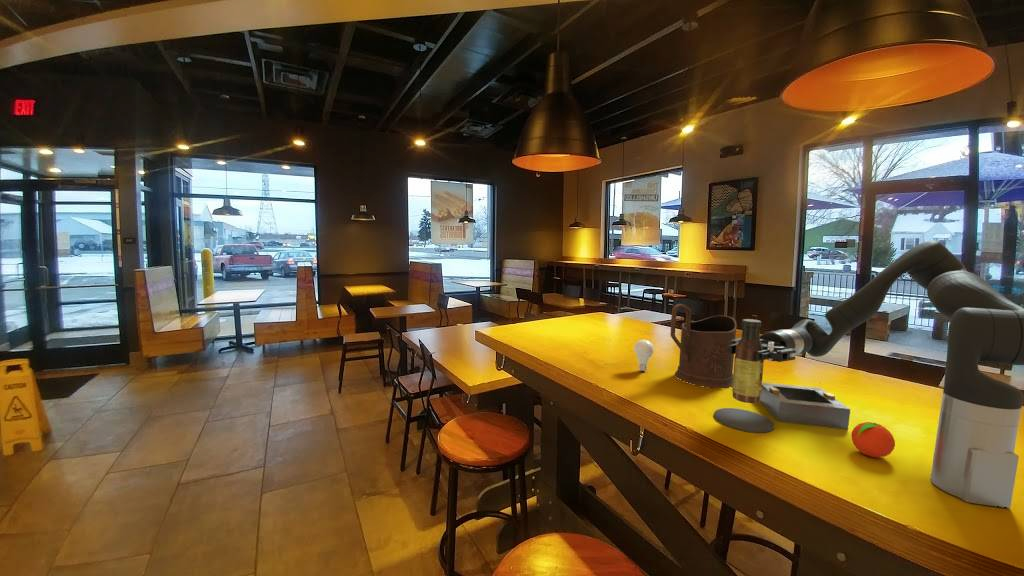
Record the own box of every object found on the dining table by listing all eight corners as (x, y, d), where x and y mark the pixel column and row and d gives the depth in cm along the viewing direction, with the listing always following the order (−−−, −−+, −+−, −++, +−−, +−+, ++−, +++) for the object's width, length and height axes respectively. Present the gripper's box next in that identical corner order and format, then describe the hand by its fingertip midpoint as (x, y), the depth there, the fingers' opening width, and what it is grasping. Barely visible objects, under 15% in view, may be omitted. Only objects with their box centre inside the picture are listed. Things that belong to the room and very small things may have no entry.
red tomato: (873, 466, 82) (877, 432, 82) (837, 449, 89) (841, 418, 88) (901, 461, 85) (905, 428, 84) (864, 445, 91) (868, 414, 90)
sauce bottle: (764, 405, 98) (772, 324, 96) (735, 403, 100) (743, 322, 97) (754, 395, 105) (762, 318, 102) (727, 393, 106) (734, 317, 103)
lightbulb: (628, 369, 142) (630, 338, 141) (643, 367, 145) (645, 337, 144) (641, 375, 136) (643, 342, 135) (656, 373, 139) (658, 341, 138)
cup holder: (750, 385, 129) (757, 306, 127) (691, 393, 121) (697, 309, 118) (703, 367, 147) (708, 298, 144) (648, 374, 138) (653, 300, 135)
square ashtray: (848, 429, 99) (850, 405, 99) (777, 421, 103) (780, 398, 102) (818, 405, 114) (820, 385, 113) (758, 399, 117) (759, 379, 117)
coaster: (782, 436, 95) (783, 433, 95) (720, 428, 98) (721, 426, 98) (763, 413, 107) (763, 411, 107) (709, 407, 110) (709, 405, 110)
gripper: (754, 325, 114) (716, 331, 105) (813, 336, 101) (776, 344, 93) (751, 351, 114) (714, 360, 106) (810, 366, 102) (773, 377, 94)
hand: (743, 353), depth 99 cm, fingers closed on sauce bottle, 6 cm apart
